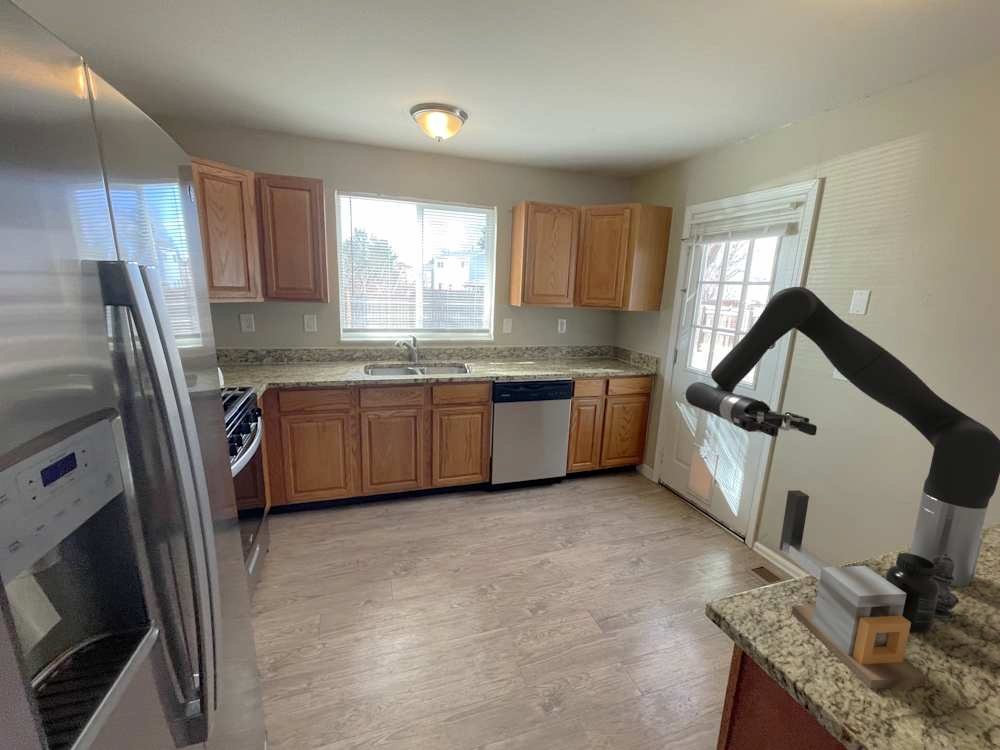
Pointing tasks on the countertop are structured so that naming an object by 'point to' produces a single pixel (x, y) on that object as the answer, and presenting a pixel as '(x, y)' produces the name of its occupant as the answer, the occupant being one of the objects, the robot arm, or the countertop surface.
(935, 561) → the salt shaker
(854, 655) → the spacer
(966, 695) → the countertop surface
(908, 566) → the supplement bottle
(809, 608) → the stand
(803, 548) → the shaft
